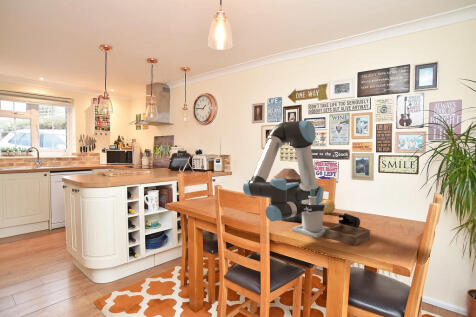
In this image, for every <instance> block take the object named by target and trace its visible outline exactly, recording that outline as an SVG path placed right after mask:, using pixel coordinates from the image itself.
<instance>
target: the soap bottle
mask: <svg viewBox="0 0 476 317" xmlns="http://www.w3.org/2000/svg"><path fill="white" fill-rule="evenodd" d="M318 191H319V190H318ZM310 194H311V196H308V198H309V205H316V198H317V197H316V196H314V195H315V188H310ZM306 208H307V206H306ZM323 215H324V214H323V211H315V212H310V213H309V212H308V211H304V212H302V213H301V216H302V219H301V225H302V227H303V228H304V230H306V231H309V232H321V231H322V229H323V226H324V225H323V224H324V216H323Z"/></svg>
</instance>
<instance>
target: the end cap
mask: <svg viewBox="0 0 476 317" xmlns="http://www.w3.org/2000/svg"><path fill="white" fill-rule="evenodd" d="M338 218H339V219H338V224H343V225H347V226H351V227H356V228H360V225H361V219H360V218H359V217H357V216H355V215H351V214H349V213H346V212H344V213H343V214H339V215H338Z"/></svg>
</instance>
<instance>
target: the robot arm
mask: <svg viewBox="0 0 476 317" xmlns="http://www.w3.org/2000/svg"><path fill="white" fill-rule="evenodd" d="M265 140H266V141H265V142H266V143H265V147H264V148H263V151H262V153H261V156H260V158H259V160H258V162H257V165H256V166H255V169H254V173H252V174H253V175H252V177H251V179H249V180H246V181H244V182H243V186H242V191H243V193H244V194H245V195H246V196H251V197H260V198H261V197H262V198H268V199H270V203H269V205H268V206H266V209H265V211H264V212H265V216H266V218H267V220H269V221H270V222H279V221H282V222H299V221H302V212H304V211H308V212H309V213H310V212H315V211H321V212H323V211H324V208H327V203H321V202H322V201H323V200H324V199H323V198H324V193H325V192H324V187H322V186H320V183H319V182H318V180H317V179H316V174H315V173H316V171H315V167H314V166H315V165H314V160H313V159H314V158H313V154H312V148H311V147H312V145H313V144H314V142H315V140H316V129H315V125H314V124H313V122H312V121H310V120H296V121H283V122H280V123H279V124H277V125H276V126H274V127H273V128H272V130H271V131H270V132H269V133H268V134H267V138H266V139H265ZM285 143H291V144H290V145H291V147H292V148H293V149H294V150H295V156H296V161H297V167H298V171H299V172H298V174H299V175H300V178H301V183H300V185H299V183H297V182H295V183H287V182H286V180H285V179H281V178H274V177H273V178H271V179H270V181H268V178H269V176H270V173H271V171H272V169H273V165H274V162H275V161H276V158H277V155H278V152H279V150H280V148H282V147H283V145H284V144H285ZM310 188H315V195H314V196H316V197H317V198H316V205H309V198H308V196H311V194H310ZM318 190H319V191H318ZM306 207H307V208H306Z"/></svg>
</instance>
